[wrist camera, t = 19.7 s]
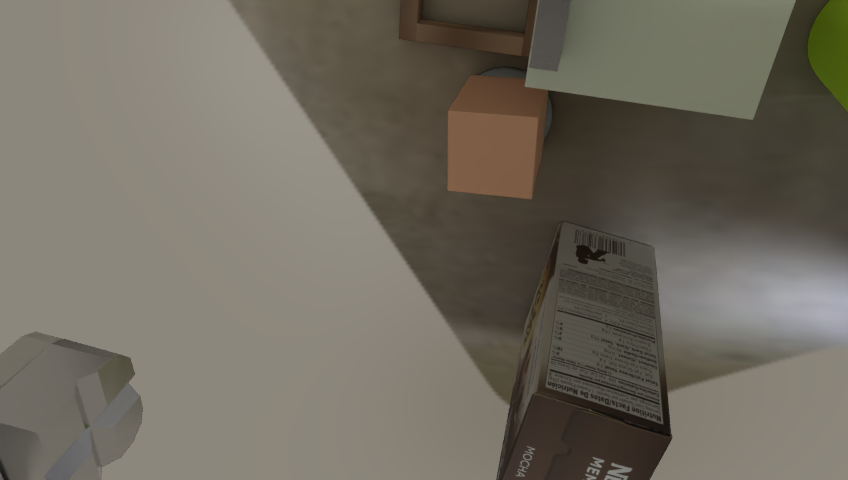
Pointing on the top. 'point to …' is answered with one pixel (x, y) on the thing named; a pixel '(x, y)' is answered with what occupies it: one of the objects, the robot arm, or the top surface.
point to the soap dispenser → (831, 48)
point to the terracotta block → (496, 137)
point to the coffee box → (590, 366)
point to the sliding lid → (659, 51)
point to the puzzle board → (465, 32)
